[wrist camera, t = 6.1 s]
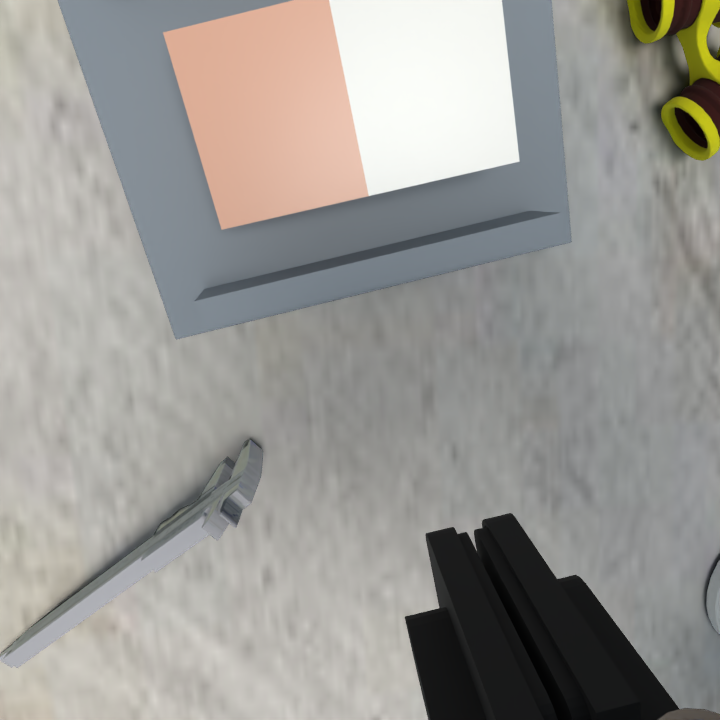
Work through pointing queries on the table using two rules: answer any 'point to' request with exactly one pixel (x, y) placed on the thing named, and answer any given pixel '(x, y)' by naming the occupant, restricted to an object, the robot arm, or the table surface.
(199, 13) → the grey piece
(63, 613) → the caliper
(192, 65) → the two-tone peach white tile
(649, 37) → the opera glasses
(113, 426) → the table surface
